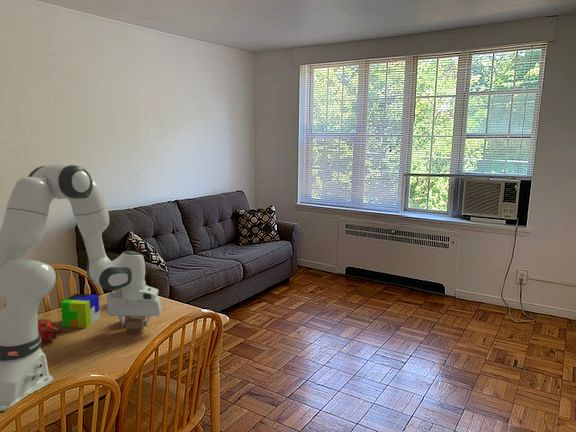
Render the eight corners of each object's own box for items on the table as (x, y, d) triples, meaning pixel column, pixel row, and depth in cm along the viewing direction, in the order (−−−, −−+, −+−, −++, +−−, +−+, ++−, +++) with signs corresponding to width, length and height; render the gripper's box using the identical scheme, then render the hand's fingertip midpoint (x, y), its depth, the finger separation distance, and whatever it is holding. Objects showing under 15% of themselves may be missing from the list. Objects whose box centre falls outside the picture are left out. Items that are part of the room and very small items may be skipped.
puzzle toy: (99, 317, 183) (98, 295, 181) (86, 328, 173) (85, 304, 171) (76, 316, 183) (75, 293, 182) (62, 326, 174) (60, 302, 172)
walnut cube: (140, 334, 169) (139, 321, 168) (126, 333, 169) (126, 321, 168) (143, 328, 174) (143, 316, 173) (130, 328, 174) (130, 316, 173)
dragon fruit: (35, 339, 166) (58, 350, 161) (18, 334, 158) (42, 345, 154) (48, 317, 169) (70, 328, 164) (32, 312, 161) (55, 322, 157)
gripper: (103, 294, 165) (105, 329, 167) (158, 295, 166) (159, 329, 169) (109, 288, 171) (110, 322, 174) (162, 289, 172) (163, 322, 175)
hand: (135, 325), depth 171 cm, fingers open, 7 cm apart
